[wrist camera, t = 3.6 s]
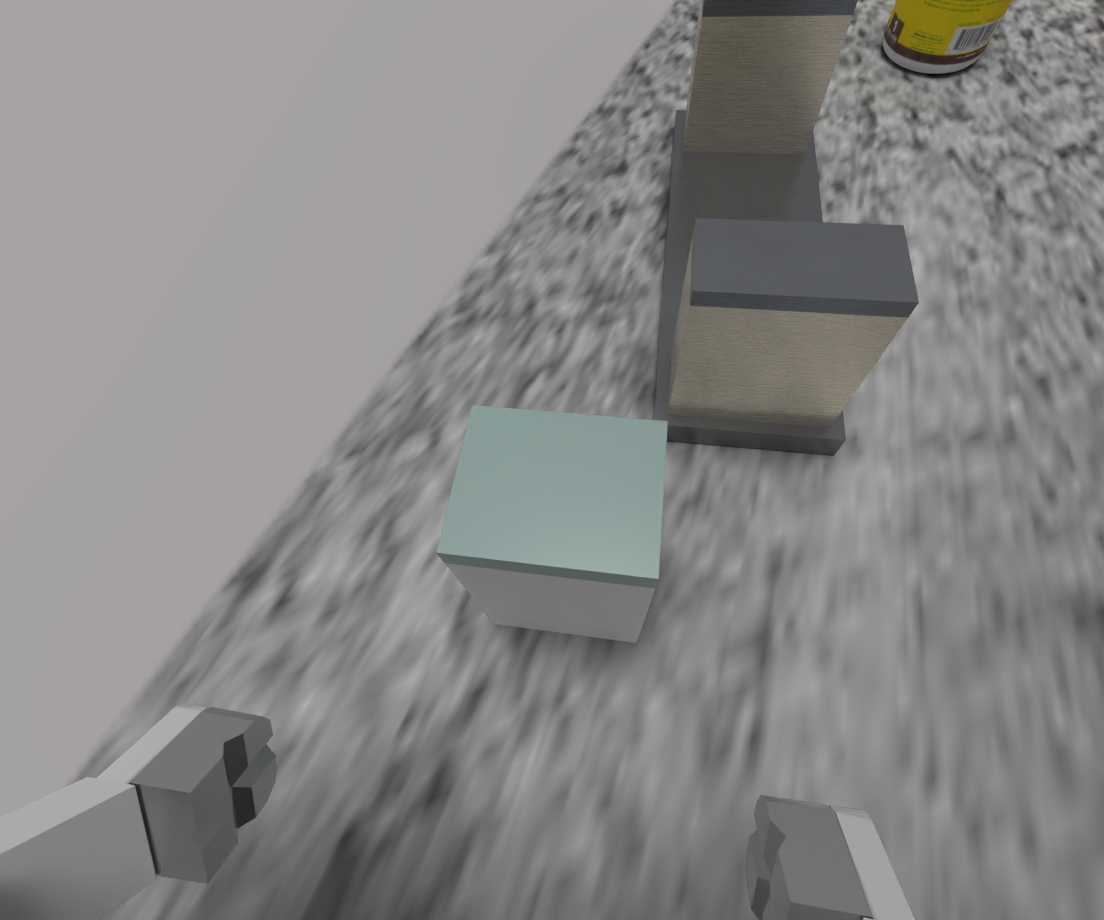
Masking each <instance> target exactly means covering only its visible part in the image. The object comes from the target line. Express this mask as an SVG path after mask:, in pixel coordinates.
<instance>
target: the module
mask: <svg viewBox="0 0 1104 920" xmlns="http://www.w3.org/2000/svg"><path fill="white" fill-rule="evenodd" d="M667 425H668V421H658V420H646V419H634V418H622V417H609V416H597V415H585V414H573V413H561V412H549V411H536V410H524V409H512V408H500V407H488V406H476V405H472V409H471V413H470V417H469V421H468V425H467V429H466V433H465V437H464V441H463V445H462V450H461V454H460V458H459V462H458V466H457V470H456V474H455V478H454V482H453V486H452V490H451V495H450V499H449V503H448V507H447V511H446V515H445V519H444V523H443V527H442V531H441V535H440V540H439V544H438V548H437V552H436V553H437V554H438V555H439V557H440V558H441V559H442V560H443V562H444V563H445V564H446V565H447V566H448V568H449V569H450V570H451V571H452V573H453V574H454V575H455V576H456V578H457V579H458V580H459V581H460V583H461V584H462V585H463V586H464V587H465V589H466V590H467V591H468V592H469V594H470V595H471V596H472V597H473V599H474V600H475V601H476V602H477V604H478V605H479V606H480V607H481V608H482V610H483V611H484V612H485V613H486V615H487V616H488V617H489V618H490V620H491V621H492V622H493V623H494V624H497V625H505V626H512V627H520V628H527V629H535V630H542V631H550V632H557V633H565V634H572V635H580V636H587V637H594V638H602V639H609V640H617V641H624V642H632V643H637V641H638V638H639V635H640V632H641V629H642V626H643V623H644V620H645V617H646V614H647V611H648V608H649V605H650V603H651V600H652V597H653V594H654V591H655V588H656V585H657V582H658V579H659V562H660V545H661V528H662V511H663V494H664V477H665V459H666V442H667Z"/></svg>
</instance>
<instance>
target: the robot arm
mask: <svg viewBox="0 0 1104 920" xmlns="http://www.w3.org/2000/svg"><path fill="white" fill-rule="evenodd" d="M272 736H273V733H272V727H271V722H270V719H267V718H265V717H262V716H257V715H252V714H246V713H241V712H236V711H230V710H225V709H220V708H215V707H207V706H201V705H196V704H191V703H184V704H182V705H179V706H177V707H175V708H173V709H172V710H171V711H170V712H169V713H168V714H167V715H166V716H165V717H164V718H162V719H161V720H160V721H159V722H158V723H157V724H156V725H155V726H154V727H152V728H151V729H150V730H149V731H148V732H147V733H146V734H145V735H144V736H143V737H141V738H140V739H139V740H138V741H137V742H136V743H135V744H134V745H133V746H131V747H130V748H129V749H128V750H127V751H126V752H125V753H124V754H123V755H122V756H120V757H119V758H118V759H117V760H116V761H115V762H114V763H113V764H112V765H110V766H109V767H108V768H107V769H106V770H105V771H104V772H103V773H102V774H101V775H99V776H98V777H97V778H93V777H86V778H84V779H82V780H80V781H78V782H75V783H73V784H71V785H69V786H67V787H65V788H62V789H60V790H58V791H56V792H54V793H52V794H49V795H47V796H45V797H43V798H41V799H39V800H36V801H34V802H32V803H30V804H28V805H25V806H23V807H21V808H19V809H17V810H14V811H12V812H10V813H8V814H6V815H4V816H1V817H0V920H101V919H102V918H103V917H105V916H106V915H108V914H109V913H110V912H112V911H113V910H115V909H116V908H117V907H119V906H120V905H121V904H123V903H124V902H126V901H127V900H128V899H130V898H131V897H133V896H134V895H135V894H137V893H138V892H139V891H141V890H142V889H144V888H145V887H146V886H148V885H149V884H151V883H152V882H153V881H155V880H156V879H157V876H156V875H158V876H164V877H170V878H176V879H182V880H188V881H194V882H200V883H206V884H208V883H209V882H210V880H211V879H212V878H213V876H214V875H215V874H216V872H217V871H218V869H219V868H220V867H221V865H222V864H223V863H224V861H225V860H226V858H227V857H228V856H229V854H230V853H231V851H232V850H233V849H234V847H235V846H236V845H237V843H238V828H240V827H241V826H243V825H244V824H246V823H248V822H249V821H251V820H253V819H254V818H256V817H257V815H258V814H259V812H260V811H261V809H262V808H263V807H264V805H265V804H266V802H267V801H268V798H269V796H270V793H271V791H272V788H273V786H274V783H275V779H276V772H277V763H276V756H275V754H274V753H273V752H272V751H271V749H270V748H269V747H268V746H267V744H266V743H267V742H268V741H269V739H270V738H271V737H272ZM754 815H755V820H756V825H757V831H755V832H754V833H753V834H751V835H750V837H749V843H748V849H747V866H746V875H747V886H748V894H749V900H750V906H751V909H752V911H753V912H754V913H755V915H756V916H757V917H758V919H759V920H916V919H915V917H914V914H913V912H912V910H911V908H910V905H909V903H908V901H907V898H906V896H905V894H904V892H903V889H902V887H901V885H900V883H899V880H898V878H897V876H896V873H895V871H894V869H893V867H892V864H891V862H890V860H889V857H888V855H887V853H886V851H885V848H884V846H883V844H882V842H881V839H880V837H879V835H878V832H877V830H876V828H875V826H874V823H873V821H872V819H871V817H870V816H869V815H868V814H867V813H866V812H865V811H862V810H856V809H849V808H842V807H836V806H827V805H824V804H817V803H810V802H803V801H796V800H790V799H783V798H776V797H769V796H763V795H761V796H760V797H759V799H758V800H757V804H756V808H755V813H754Z"/></svg>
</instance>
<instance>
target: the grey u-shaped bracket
mask: <svg viewBox="0 0 1104 920" xmlns="http://www.w3.org/2000/svg"><path fill="white" fill-rule="evenodd" d="M857 1H858V0H701V4H700V11H699V18H698V26H697V33H696V41H695V48H694V55H693V63H692V70H691V78H690V85H689V92H688V100H687V107H686V110H676V117H675V125H674V135H673V149H672V162H671V176H670V190H669V204H668V218H667V231H666V245H665V259H664V273H663V287H662V301H661V314H660V328H659V342H658V356H657V370H656V383H655V397H654V411H653V420H658V421H668V425H667V441H675V442H686V443H698V444H709V445H721V446H733V447H744V448H756V449H767V450H779V451H790V452H802V453H813V454H825V455H834V454H835V453H836V452H837V450H838V449H839V448H840V446H841V445H842V444H843V443H844V441H845V440H846V439H845V430H844V420H843V411H842V410H843V409H844V407H845V406H846V404H847V403H848V402H849V400H850V399H851V397H852V396H853V395H854V393H855V392H856V390H857V389H858V388H859V386H860V385H861V383H862V382H863V380H864V379H865V378H866V376H867V375H868V373H869V372H870V371H871V369H872V368H873V366H874V365H875V364H876V362H877V361H878V359H879V358H880V357H881V355H882V354H883V352H884V351H885V349H886V348H887V347H888V345H889V344H890V342H891V341H892V340H893V338H894V337H895V335H896V334H897V333H898V331H899V330H900V328H901V327H902V325H903V324H904V323H905V321H906V320H907V318H908V317H909V316H910V314H911V313H912V311H913V310H914V309H915V307H916V306H917V304H918V303H919V301H918V296H917V291H916V286H915V281H914V276H913V271H912V266H911V261H910V256H909V251H908V246H907V241H906V236H905V231H904V225H877V224H849V223H823V221H822V212H821V202H820V193H819V183H818V174H817V164H816V155H815V146H814V136H813V129H814V126H815V123H816V120H817V117H818V114H819V112H820V109H821V106H822V103H823V100H824V97H825V94H826V91H827V88H828V85H829V82H830V80H831V77H832V74H833V71H834V68H835V65H836V62H837V59H838V56H839V53H840V50H841V47H842V45H843V42H844V39H845V36H846V33H847V30H848V27H849V24H850V21H851V18H852V15H853V13H854V10H855V7H856V4H857Z"/></svg>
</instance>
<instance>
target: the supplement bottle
mask: <svg viewBox="0 0 1104 920" xmlns="http://www.w3.org/2000/svg"><path fill="white" fill-rule="evenodd" d="M1011 2H1012V0H897V1H896V3H895V6H894V8H893V11H892V14H891V16H890V19H889V21H888V24H887V27H886V30H885V32H884V36H883V47H884V50H885V52H886V54H887V55H888V57H889V58H890V59H891V60H892V61H893V62H895V63H896V64H898V65H899V66H901V67H904V68H906V69H909V70H912V71H916V72H920V73H928V74H942V73H950V72H955V71H958V70H961V69H963V68H966V67H967V66H969V65H971V64H972V63H974V62H975V61H976V60H977V59H978V58H979V57H980V56H981V55H982V54H983V52H984V50H985V49H986V47H987V45H988V44H989V42H990V40H991V38H992V36H993V34H994V33H995V31H996V29H997V27H998V25H999V24H1000V22H1001V20H1002V18H1003V16H1004V14H1005V13H1006V11H1007V9H1008V7H1009V5H1010V4H1011Z"/></svg>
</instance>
